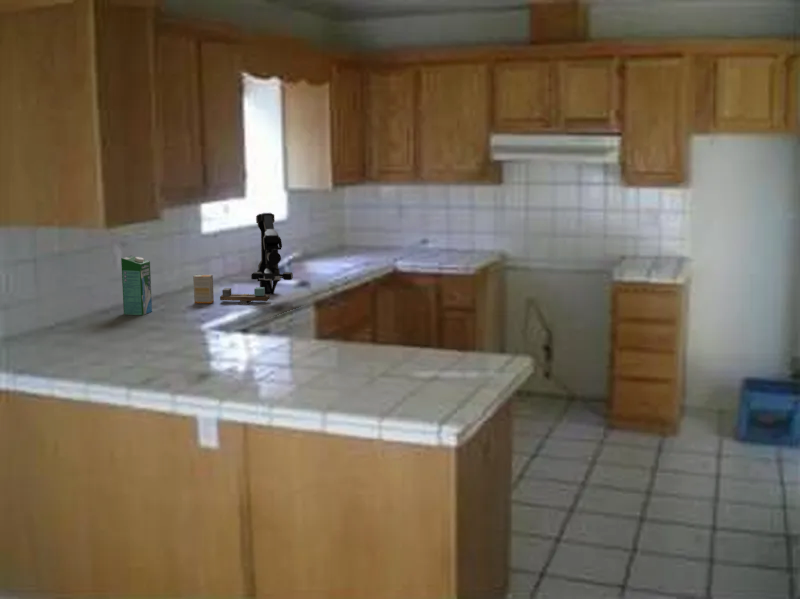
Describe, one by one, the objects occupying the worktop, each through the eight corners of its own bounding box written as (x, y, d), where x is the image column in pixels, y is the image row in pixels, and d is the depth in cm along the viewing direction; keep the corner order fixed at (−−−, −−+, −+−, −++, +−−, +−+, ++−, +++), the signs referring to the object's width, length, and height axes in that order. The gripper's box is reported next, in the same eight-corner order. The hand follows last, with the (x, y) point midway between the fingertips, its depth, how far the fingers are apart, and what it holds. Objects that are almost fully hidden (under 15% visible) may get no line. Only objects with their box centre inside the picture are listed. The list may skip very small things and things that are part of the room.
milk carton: (142, 315, 402) (140, 258, 397) (123, 314, 404) (120, 258, 399) (152, 311, 411) (149, 255, 406) (133, 310, 412) (130, 255, 408)
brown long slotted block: (224, 300, 438) (223, 287, 437) (270, 301, 437) (269, 288, 436) (219, 303, 429) (219, 290, 428) (266, 304, 428) (266, 291, 427)
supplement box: (214, 302, 434) (213, 274, 431) (211, 303, 429) (210, 276, 427) (197, 301, 435) (196, 274, 432) (193, 303, 430) (192, 275, 428)
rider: (256, 297, 435) (256, 287, 434) (265, 298, 435) (264, 287, 434) (254, 299, 430) (254, 288, 429) (263, 300, 430) (262, 289, 429)
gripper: (248, 263, 422) (249, 296, 424) (289, 264, 421) (289, 297, 424) (253, 259, 432) (253, 292, 435) (292, 260, 432) (293, 293, 435)
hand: (272, 294), depth 432 cm, fingers closed
